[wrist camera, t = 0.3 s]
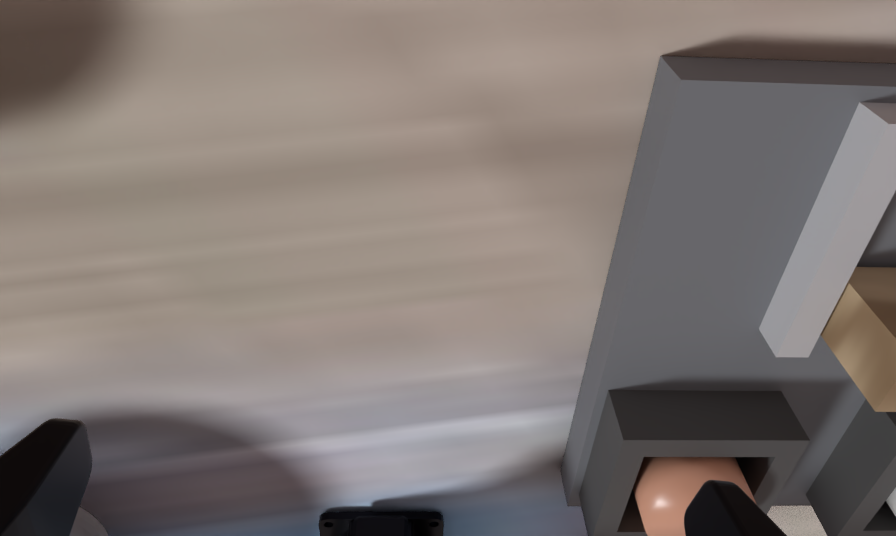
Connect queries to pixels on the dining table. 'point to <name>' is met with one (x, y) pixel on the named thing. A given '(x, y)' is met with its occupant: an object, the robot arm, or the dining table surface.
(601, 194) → the dining table surface
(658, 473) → the button terracotta
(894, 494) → the button grey
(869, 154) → the control panel
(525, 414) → the dining table surface
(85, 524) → the bowl
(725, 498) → the robot arm
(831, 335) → the upright wooden block
